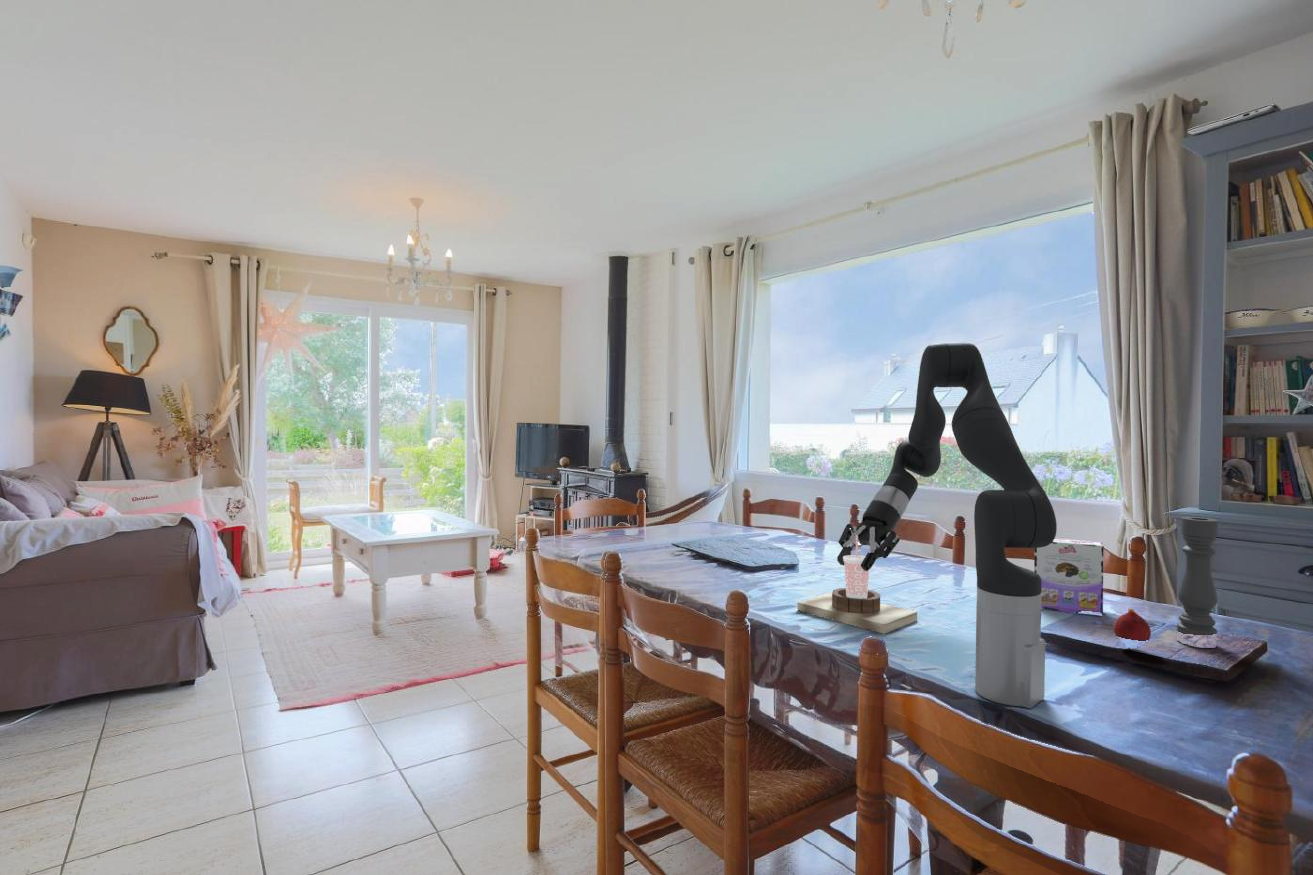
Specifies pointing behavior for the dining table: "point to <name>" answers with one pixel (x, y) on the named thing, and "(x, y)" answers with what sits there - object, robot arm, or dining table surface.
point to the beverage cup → (855, 575)
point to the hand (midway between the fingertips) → (851, 565)
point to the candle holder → (1198, 576)
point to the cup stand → (858, 611)
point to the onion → (1132, 627)
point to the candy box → (1071, 575)
